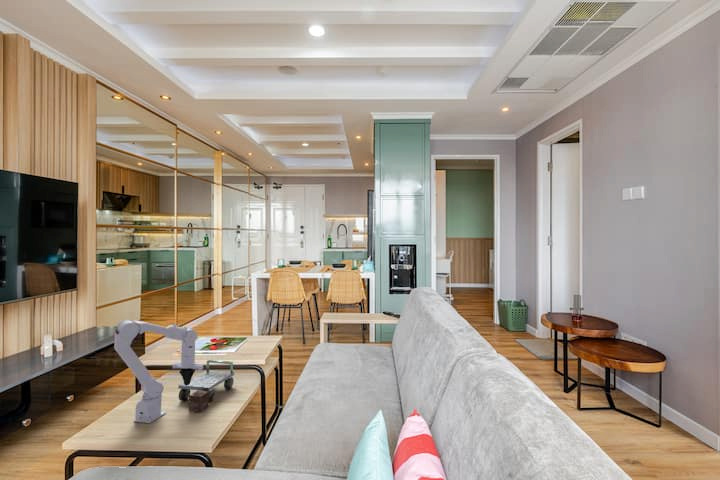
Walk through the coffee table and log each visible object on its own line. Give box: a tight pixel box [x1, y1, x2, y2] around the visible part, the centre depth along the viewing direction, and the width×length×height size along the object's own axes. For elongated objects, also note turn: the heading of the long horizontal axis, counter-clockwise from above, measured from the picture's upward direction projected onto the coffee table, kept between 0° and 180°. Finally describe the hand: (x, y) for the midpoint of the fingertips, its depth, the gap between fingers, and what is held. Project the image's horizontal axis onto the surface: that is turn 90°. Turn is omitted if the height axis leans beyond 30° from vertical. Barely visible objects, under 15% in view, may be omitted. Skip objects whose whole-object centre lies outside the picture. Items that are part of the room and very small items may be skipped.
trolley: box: [177, 359, 235, 404], centre depth 173 cm, size 23×16×14 cm
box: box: [188, 390, 210, 414], centre depth 156 cm, size 6×6×7 cm
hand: (187, 384), depth 159 cm, fingers closed
